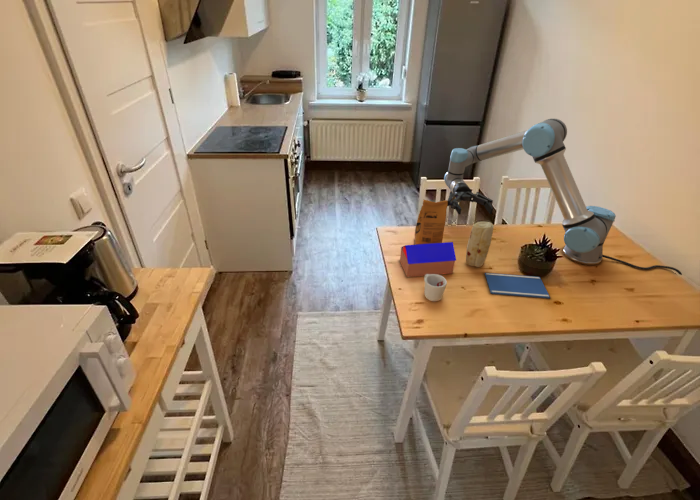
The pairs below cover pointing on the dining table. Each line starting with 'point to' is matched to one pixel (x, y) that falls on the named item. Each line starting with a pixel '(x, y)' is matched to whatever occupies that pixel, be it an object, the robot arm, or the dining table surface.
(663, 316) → the dining table surface
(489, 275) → the towel
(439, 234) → the coffee package
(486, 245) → the food model
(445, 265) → the house
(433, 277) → the cup
